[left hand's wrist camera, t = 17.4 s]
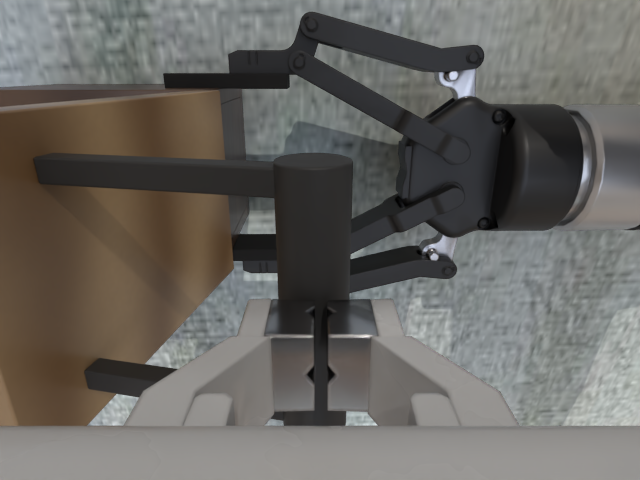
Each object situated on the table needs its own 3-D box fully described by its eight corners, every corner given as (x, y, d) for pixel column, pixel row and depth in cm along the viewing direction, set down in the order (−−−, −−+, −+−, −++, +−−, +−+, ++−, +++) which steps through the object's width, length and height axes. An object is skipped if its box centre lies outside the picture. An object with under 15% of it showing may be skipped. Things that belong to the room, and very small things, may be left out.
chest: (83, 213, 33) (-1, 265, 24) (56, 84, 30) (-52, 89, 21) (249, 212, 34) (226, 263, 25) (241, 84, 30) (211, 89, 21)
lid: (-1, 474, 12) (326, 544, 10) (-131, 117, 8) (329, 129, 7) (215, 267, 24) (377, 282, 22) (198, 89, 21) (387, 91, 19)
